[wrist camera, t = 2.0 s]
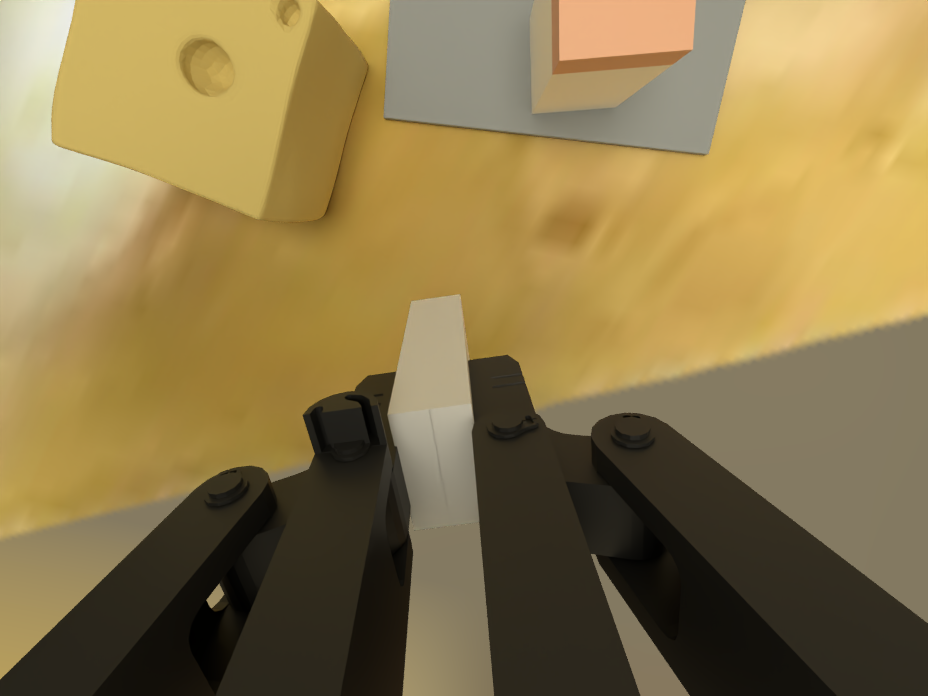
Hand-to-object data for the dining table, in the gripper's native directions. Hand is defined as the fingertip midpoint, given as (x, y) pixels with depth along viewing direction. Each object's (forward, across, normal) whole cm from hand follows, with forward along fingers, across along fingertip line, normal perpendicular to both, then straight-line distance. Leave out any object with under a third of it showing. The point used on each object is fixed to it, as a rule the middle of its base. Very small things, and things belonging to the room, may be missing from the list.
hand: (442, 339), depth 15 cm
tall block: (+18, +9, +9) cm, 22 cm away
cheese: (+20, -9, +8) cm, 24 cm away
